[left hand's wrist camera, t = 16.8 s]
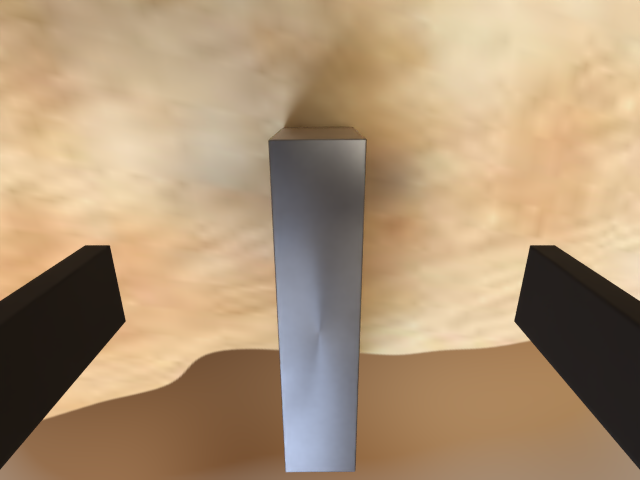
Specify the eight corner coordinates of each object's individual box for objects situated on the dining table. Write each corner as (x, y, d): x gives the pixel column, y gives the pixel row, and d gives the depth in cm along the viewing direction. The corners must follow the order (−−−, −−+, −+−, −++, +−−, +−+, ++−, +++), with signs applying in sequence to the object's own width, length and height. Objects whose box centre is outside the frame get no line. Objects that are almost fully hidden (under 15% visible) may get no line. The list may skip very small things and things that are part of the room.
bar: (282, 127, 30) (268, 139, 22) (353, 127, 30) (366, 138, 22) (293, 389, 39) (285, 472, 30) (347, 389, 39) (355, 472, 30)
